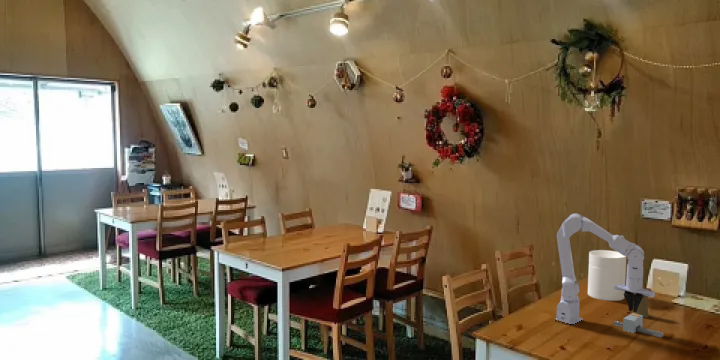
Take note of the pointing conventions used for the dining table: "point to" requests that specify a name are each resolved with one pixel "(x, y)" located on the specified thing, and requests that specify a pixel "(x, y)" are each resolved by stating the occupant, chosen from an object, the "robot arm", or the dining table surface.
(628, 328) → the block
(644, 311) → the cork
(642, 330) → the rail
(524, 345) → the dining table surface
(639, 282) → the robot arm
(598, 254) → the canister
